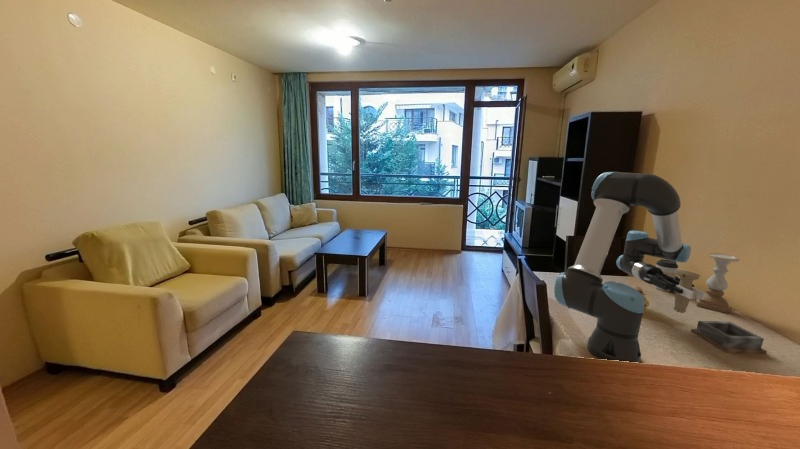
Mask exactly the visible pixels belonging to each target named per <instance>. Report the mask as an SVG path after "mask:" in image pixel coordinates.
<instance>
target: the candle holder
mask: <svg viewBox="0 0 800 449" xmlns="http://www.w3.org/2000/svg"><path fill="white" fill-rule="evenodd" d="M707 256H708V257H709V258H711V259H714V262H715V266H714V267H712V270H713V274H712V276H710V277H709V278H707V280H705V284H706V286H707V288H706V289H705V292H706V293H705V297H704V300H701V299H699V298H697V297H695V306H697V307H699V308H703V309H708V310H711V311H715V312H716V311H717V312H720V313H725V314H730V313H731V312H730V311H731V308H730V306H729V303H728V301H727V299H726V298H724V295H725V292H724V291H725V290H727V289H728V287H729V285H728V282H727V280H726V278H725V275H726V274H727V273H729V269H728V268H727V267H728V266H729V264H731V263H732V262H734V263H735V262H739V261H740V258H739V257H737V256H734V255H731V254H725V253H717V252H709V253H708V254H707Z"/></svg>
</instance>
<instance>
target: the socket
mask: <svg viewBox="0 0 800 449" xmlns="http://www.w3.org/2000/svg"><path fill="white" fill-rule="evenodd" d="M690 333H692V334H694V335H696V336H698V337H699V338H701V339H703V340H704V341H706V342H707V343H709V344H711V345H712V346H715V347H716V348H718V349H719V350H721V351H722V352H724V353H730V354H732V353H734V354H735V353H737V354H767V350H766V349H765V348H762V347H763V346H762V345H763V342H764V340H765V339H764V338H763V337H761V336H759V335H758V334H755V333H753V332H752V331H749V330H747V329H745V328H743V327H741V326H739V325H737V324H735V323H733V322H732V321H721V320H720V321H719V320H717V321H715V320H698V321H697V327H696V328H691V329H690Z"/></svg>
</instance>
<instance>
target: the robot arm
mask: <svg viewBox="0 0 800 449" xmlns="http://www.w3.org/2000/svg"><path fill="white" fill-rule="evenodd" d="M590 196H591V199H592V201H593V205H594V206H595V209H594V213H593V216H592V218H591V220H590V224H589V226H588V228H587V231H586V233H585V236H584V239H583V241H582V244H581V246H580V249H579V251H578V254H577V256H576V259H575V262H574V264H573V265H571V266H569V267H567V270H566V272H565V271H564V272H560V273H559V274H558V275H557V277H556V278H555V283H554V288H553V289H554V290H553V293H554V297H555V300H556V301H557V303H558V304H560V305H562V306H564V307H567V308H568V309H572V310H575V311H577V312H579V313H583V314H585V315H588V316H591V317H593V318H596V319H597V320H596V326H595V328H594V329H593V331H592V333H591V334H590V336H589V337H588V338H587V345H586V348H587V349H588V351H589V352H590V354H592V355H593V356H595V357H596V358H598V359H600V360H601V359H607V360H619V361H629V362H640V363H641V359H642V352H641V347H640V343H639V333H640V330H641V323H642V320H643V314H644V312H645V300H646V299H645V296H644V295H643V293H642V292H640V291H639V290H638V289H636V288H635V287H632V286H630V285H628V284H625V283H621V282H615V281H605V282H603V281H604V280H603V278H602V276H601V272H602V269H603V267H604V264H605V261H606V258H607V257H608V254H609V252H610V248H611V246H612V242H613V241H614V238H615V235H616V231H617V229H618V227H619V223H620V221H621V219H622V216H623V215H624V214H626V213H628V212H629V211H630V209H631V206H634V207H642V208H646V211H647V212H648V213H650V214H651V218H652V223H653V226H654V230H655V235H656V236H655V237H656V238H652V237H649V233H648V232H646V231H641V230H629V231H628V232H627V234H626V239H625V243H624V249H623V250H624V251H623V254H621V255H620V256H618V258H617V259H616V262H615V263H616V267H617V268H618V269H619V270H621V271H622V272H624V273H626V274H628V275H631V276H633V277H635V278H636V279H638V280H639V281H643V282H645V283H646V284H648V285H652V286H654V285H655V286H657V287H659V288H662V289H664V290H670V291H669V293H671V294H674V293H678V294H680V295H682V296H685V297H687V298H689V299H690V300H693V298H694V297H695V298H696V297H697V298H699V299H701V300H704V297H705V293H707V292H706V291H703V290H701V289H699V288H696V287H695V285H694V284H693V283H692V287H691V291H690V290H688V289H686V288H684V287H682V286H679V283H680V277H679V276H678V275H676V276H674V278H673V277H670V276H668V275H667V274H664V273H663V271H662V270H661V269H660V268H658V267H656V265H653V264H651V263H648V262H646V261H644V258H645V256H648V257H649V256H650V257H654V258H658V259H664V260H670V261H674V262H675V261H676V263H678V262H679V263H687V262H688V260H689V259H690V256H691V252H692V246H690V245H689V244H686V243H683V240H682V233H681V232H682V231H681V225H680V219H679V210H680V208H681V205H682V204H681V197H680V195H679V192H678V191H677V190H676V189H675V187H674V186H673V185H672V184H671V183H669V182H668V181H667V180H666V179H665V178H662V176H659V175H656V174H653V173H638V172H636V173H634V172H622V171H621V172H620V171H607V172H603V173H601V174H600V175H598V176H597V177H596V178H595V180H594V182H593V185H592V187H591V193H590Z"/></svg>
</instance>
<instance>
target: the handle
mask: <svg viewBox="0 0 800 449" xmlns="http://www.w3.org/2000/svg"><path fill="white" fill-rule="evenodd" d="M676 276H677V277H679V278H680V283H679V286H682V287H684V288H686V289H688V290H690V291H691V287H692V284H693V282H694V281H696V280H699V279H700V276H701V275H700V274H699V273H696V272H692V271H688V270H684V269H677V272H676ZM675 293H676V292H675ZM690 300H691V299H689V298H687V297H685V296H682V295H680V294H678V293H676V294H675V298H674V307H673V311H675V312H677V313H681V314H684V313H686V311H687V308H688V306H689V302H690Z"/></svg>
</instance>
